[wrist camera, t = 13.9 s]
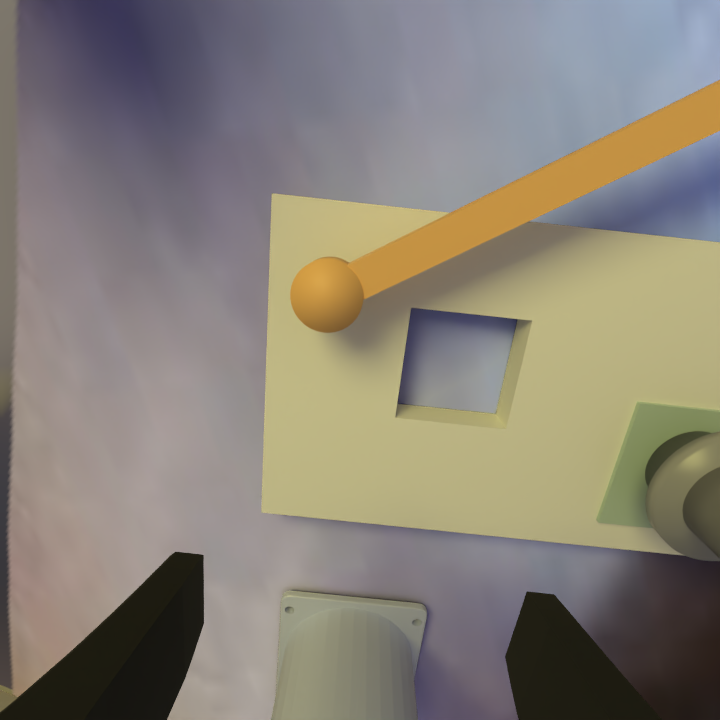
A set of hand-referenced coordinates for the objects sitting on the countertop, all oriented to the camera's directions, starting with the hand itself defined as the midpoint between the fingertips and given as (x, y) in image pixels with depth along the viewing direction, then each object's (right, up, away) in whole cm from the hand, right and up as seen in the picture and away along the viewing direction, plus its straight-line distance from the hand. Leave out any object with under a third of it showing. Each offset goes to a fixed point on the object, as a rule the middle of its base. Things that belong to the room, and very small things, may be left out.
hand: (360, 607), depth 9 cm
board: (+7, +4, +9) cm, 12 cm away
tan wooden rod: (+5, +11, +4) cm, 13 cm away
